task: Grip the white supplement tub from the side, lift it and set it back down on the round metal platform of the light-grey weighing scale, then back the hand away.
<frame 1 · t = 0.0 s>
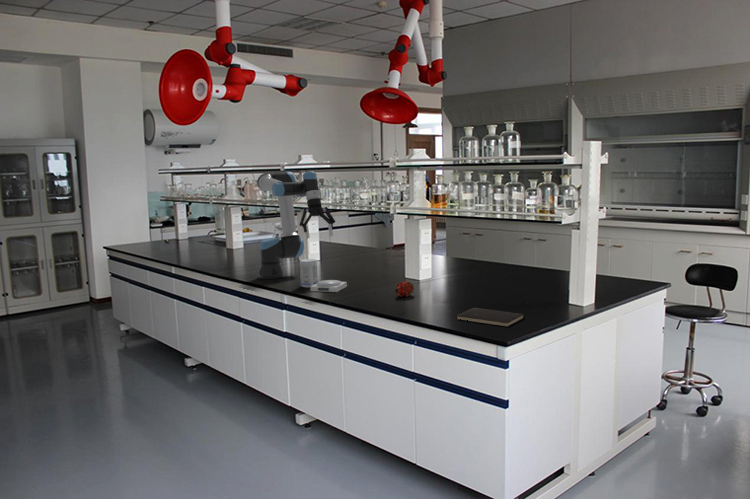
hand: (319, 237, 321), 28 cm above the table, tool tilted 20°, fingers open, 13 cm apart
hardcover book: (490, 320, 248), on the table
supplement tub: (309, 286, 330), on the table
scale: (329, 288, 321), on the table
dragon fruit: (404, 296, 296), on the table
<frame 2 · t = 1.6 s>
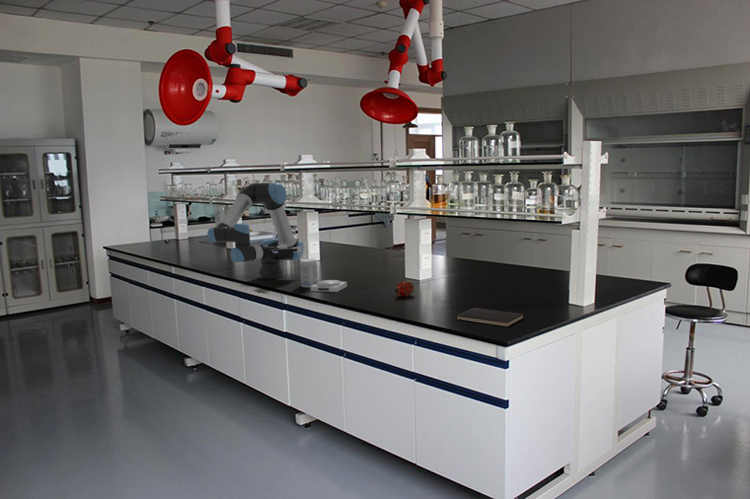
hand: (293, 248, 321), 22 cm above the table, tool horizontal, fingers open, 13 cm apart
nothing on the table moved.
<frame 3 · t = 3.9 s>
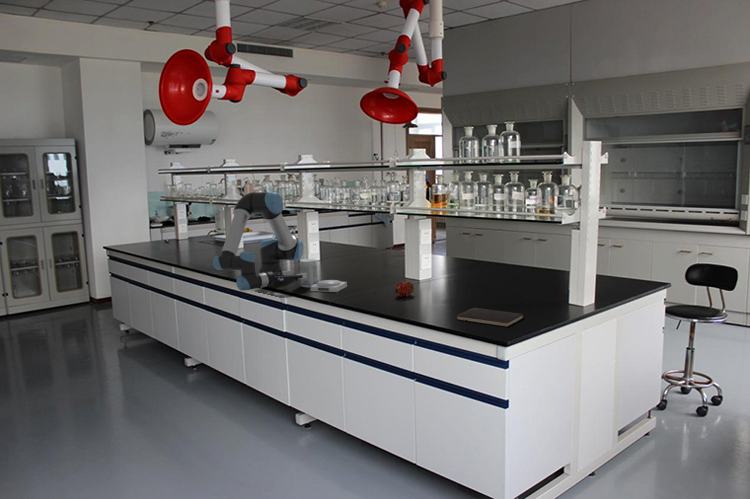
hand: (299, 273, 324), 8 cm above the table, tool horizontal, fingers open, 13 cm apart
nothing on the table moved.
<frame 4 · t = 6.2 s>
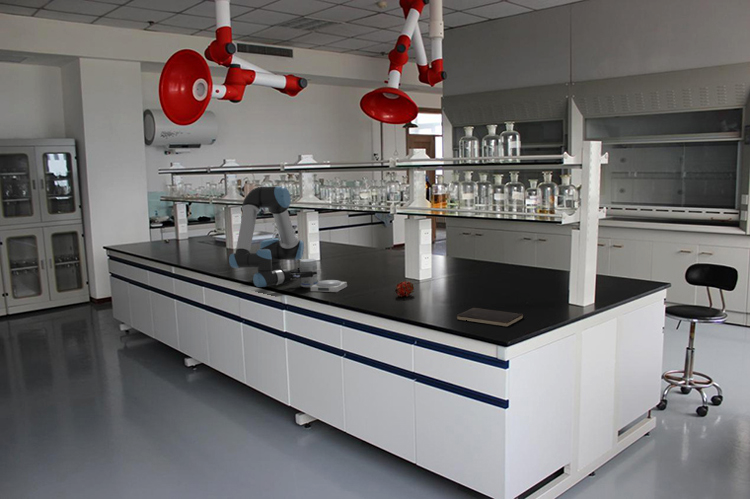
hand: (315, 270, 332), 8 cm above the table, tool horizontal, fingers closed on supplement tub, 9 cm apart
supplement tub: (309, 286, 330), on the table, touching gripper
everything else where it was.
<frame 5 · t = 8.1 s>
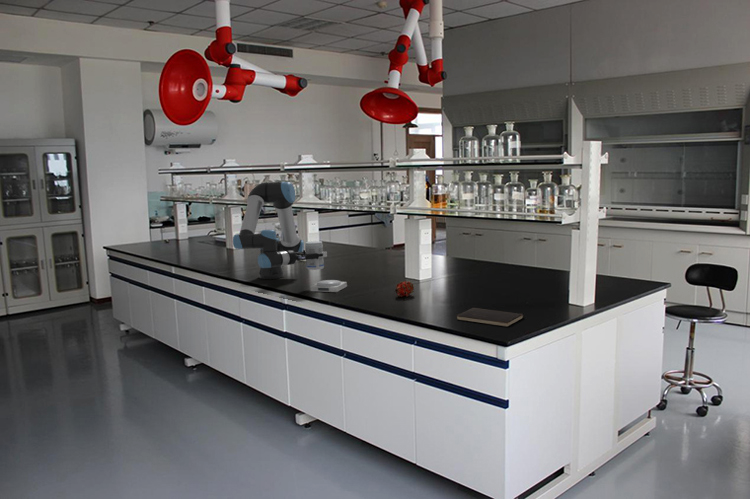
hand: (321, 253, 325), 19 cm above the table, tool horizontal, fingers closed on supplement tub, 9 cm apart
supplement tub: (315, 269, 323), point 10 cm above the table, touching gripper
everything else where it was.
when the fingers open (13 cm above the table, at t = 10.3 s): supplement tub drops 1 cm, resting on scale.
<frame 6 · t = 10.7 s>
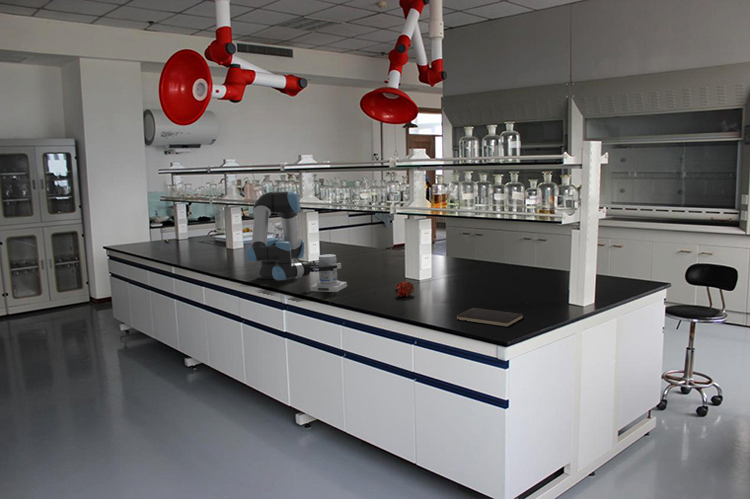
hand: (332, 264, 321), 13 cm above the table, tool horizontal, fingers open, 13 cm apart
supplement tub: (328, 282, 320), point 3 cm above the table, touching scale
everything else where it was.
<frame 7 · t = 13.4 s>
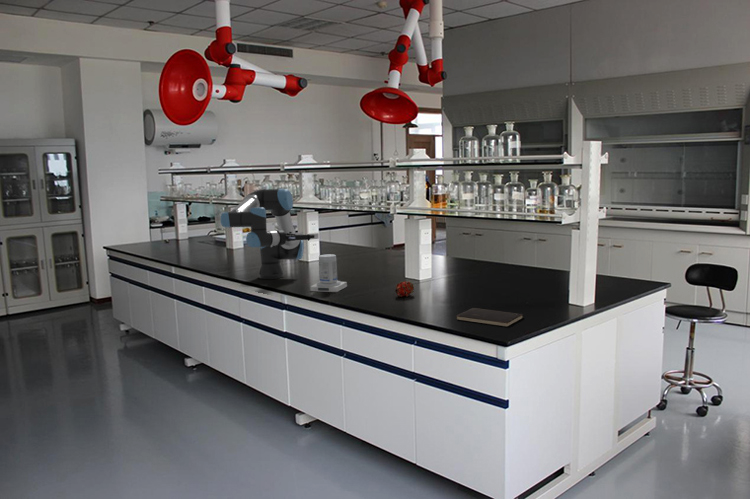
hand: (310, 235, 311), 30 cm above the table, tool horizontal, fingers open, 13 cm apart
nothing on the table moved.
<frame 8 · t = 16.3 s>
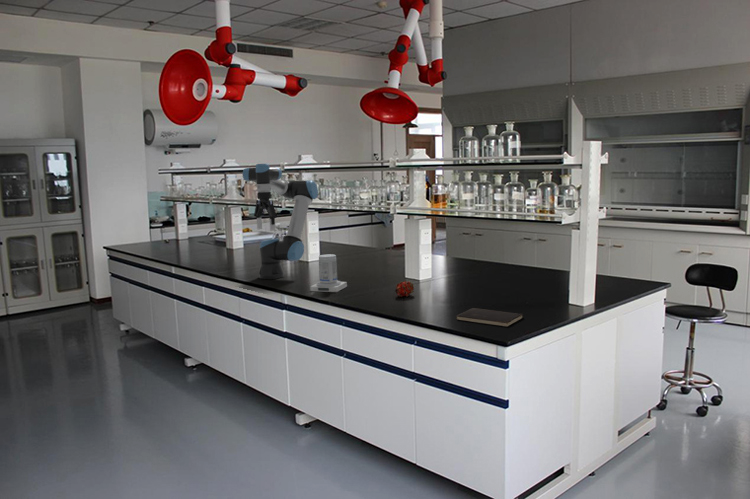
hand: (266, 229, 330), 32 cm above the table, tool pointing down, fingers open, 13 cm apart
nothing on the table moved.
at the end: supplement tub inside the target area on the scale (0.2 cm from its centre), point 3.3 cm above the scale's base; supplement tub tilted 0°; the gripper is holding nothing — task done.
